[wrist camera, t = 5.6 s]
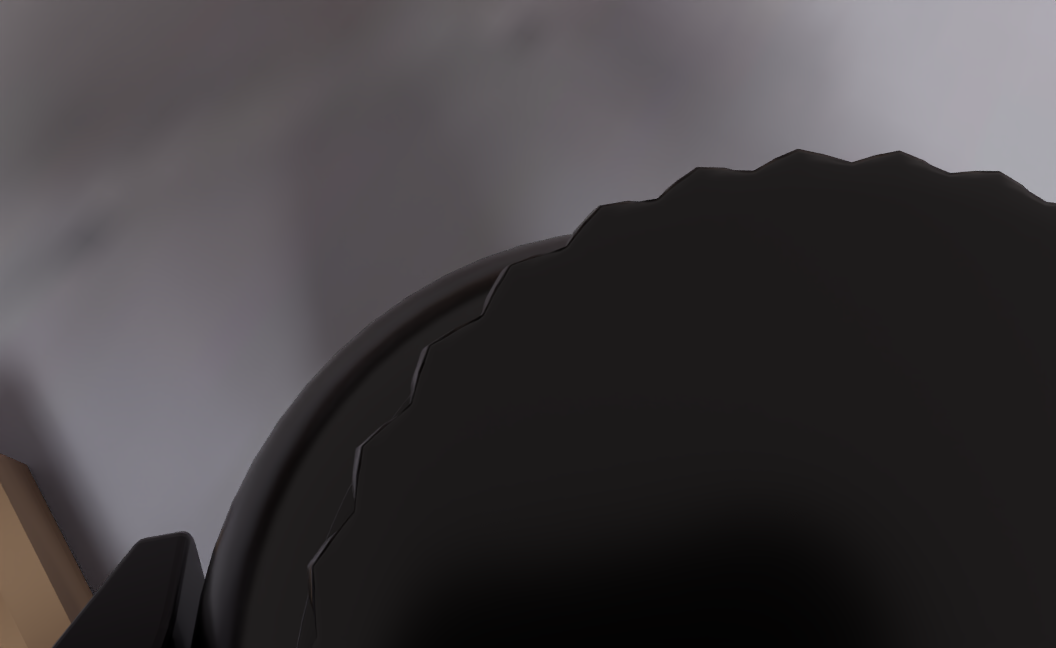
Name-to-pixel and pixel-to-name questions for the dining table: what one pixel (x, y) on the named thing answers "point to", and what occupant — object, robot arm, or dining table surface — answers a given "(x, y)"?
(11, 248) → the dining table surface
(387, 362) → the supplement bottle
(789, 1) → the dining table surface
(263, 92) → the dining table surface
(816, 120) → the dining table surface
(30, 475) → the walnut holder
